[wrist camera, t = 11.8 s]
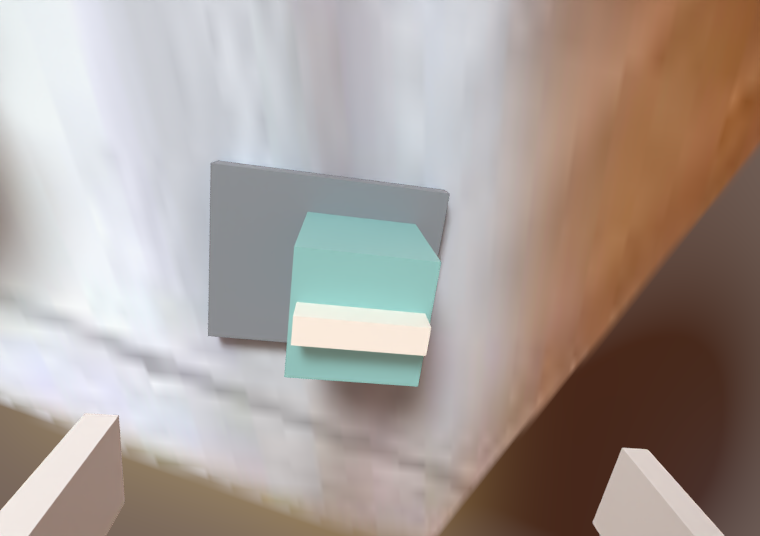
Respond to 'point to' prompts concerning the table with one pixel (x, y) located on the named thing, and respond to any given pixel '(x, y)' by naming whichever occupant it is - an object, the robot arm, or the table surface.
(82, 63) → the table surface
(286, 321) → the post board
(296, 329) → the teal cube with ledge
